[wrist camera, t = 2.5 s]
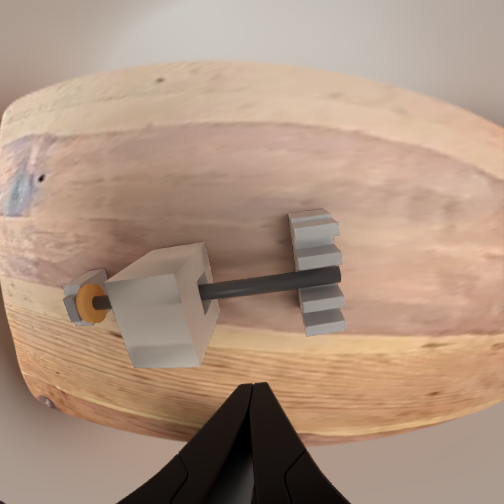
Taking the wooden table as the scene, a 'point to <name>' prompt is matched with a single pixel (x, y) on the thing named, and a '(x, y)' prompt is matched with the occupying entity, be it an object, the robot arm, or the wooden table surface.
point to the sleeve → (165, 307)
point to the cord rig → (253, 280)
